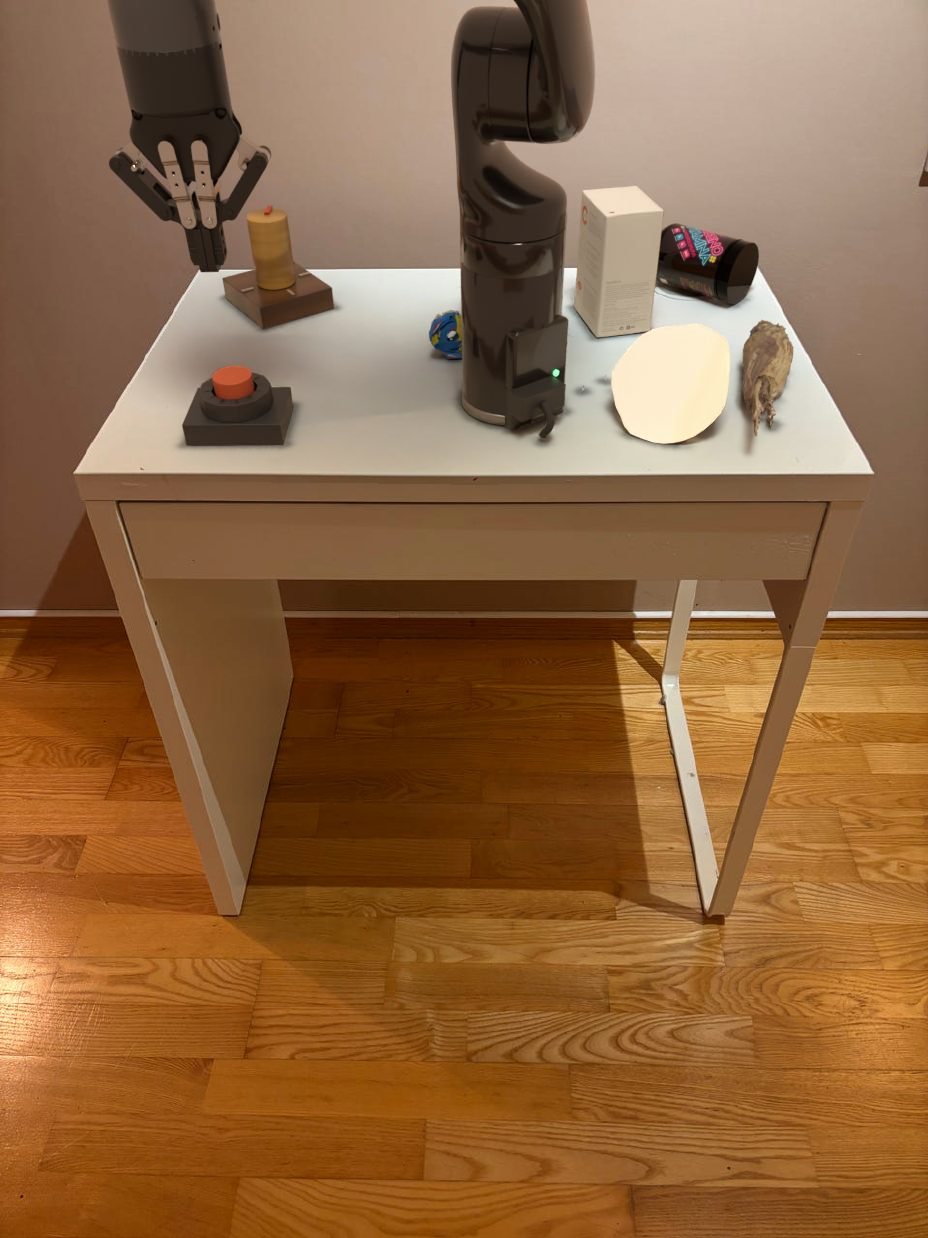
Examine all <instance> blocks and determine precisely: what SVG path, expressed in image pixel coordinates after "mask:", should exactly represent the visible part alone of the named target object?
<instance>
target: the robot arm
mask: <svg viewBox="0 0 928 1238" xmlns="http://www.w3.org/2000/svg"><path fill="white" fill-rule="evenodd" d="M513 2H514V3H515V5H516V6H497V5H496V6H495V5H494V6H492V5H491V6H490V5H486V6H485V5H484V6H481V5H480V6H473V7H471V8H470V9H468V10H467V11H465V12H464V13H463V15H462V16H461V18H460V19H459V21H458V23H457V27H456V30H455V33H454V36H453V42H452V48H451V60H450V88H451V90H450V91H451V105H452V107H451V108H452V119H453V133H454V146H455V148H454V149H455V163H456V165H455V166H456V167H455V168H456V189H457V191H456V192H457V199H458V207H459V248H460V250H459V253H460V255H459V259H460V261H459V262H460V263H459V264H460V268H459V269H460V309H461V310H460V312H461V313H460V315H461V328H462V352H461V355H462V358H461V368H462V371H461V372H462V375H461V376H462V388H461V405H462V407H463V409H464V410H465V411H466V412H467V413H468V414H469V415H470V416H472V417H473V418H475V419H477V420H480V421H482V422H484V423H489V424H493V425H499V426H505V427H507V428H508V429H510V430H513V431H514V430H517V429H520V428H523V427H525V426H528V425H530V424H531V425H532V424H533V423H535V422H539V421H541V420H543V419H545V421H546V422H545V425H544V427H543V428H542V429H541V430H540V431H539V432H538V436H539V437H540V439H543V440H545V439H546V438H547V437H548V436H549V435H550V434H551V432H553V430H554V426H555V416H554V415H556V414H559V413H562V412H563V411H564V407H565V401H566V400H565V399H566V368H567V367H566V366H567V349H568V333H569V320H568V318H567V317H566V316H564V315H563V297H564V280H565V279H564V278H565V261H566V243H567V228H568V227H567V225H568V212H569V199H568V195H567V192H566V190H565V189H564V187H563V186H562V185H561V184H560V183H559V182H558V181H556V180H555V179H553V178H552V177H550V176H548V175H546V174H544V173H542V172H540V171H539V170H536V169H534V168H532V167H531V166H529V165H528V164H526V163H525V162H524V161H522V160H521V159H520V158H519V157H517V156H516V155H515V154H514V153H513V151H511V150H510V148H509V147H508V145H507V142H510V143H511V142H512V143H526V144H539V145H541V144H542V145H551V144H552V145H553V144H563V143H566V142H570V141H572V140H574V139H576V138H578V136H579V135H580V134H581V133H582V131H583V130H585V127H586V125H587V122H588V120H589V118H590V115H591V112H592V109H593V103H594V97H595V88H596V58H595V47H594V37H593V31H592V25H591V24H592V23H591V19H590V14H589V7H588V1H587V0H513ZM106 5H107V11H108V15H109V20H110V23H111V24H110V25H111V29H112V33H113V39H114V43H115V46H116V51H117V56H118V60H119V65H120V69H121V74H122V79H123V83H124V88H125V92H126V96H127V101H128V105H129V111H130V113H131V123H130V127H129V130H128V134H129V138H130V140H129V141H128V142H127V143H126V144H125V145H124V147H119V148H118V149H117V150H116V152H115V153H113V155H112V156H111V157H110V159H109V160H108V167H109V169H110V170H111V171H112V172H113V173H114V174H115V176H117V177H118V178H119V179H120V181H122V182H123V183H124V184H125V185H126V186H127V187H128V188H129V189H130V190H131V191H132V192H133V193H134V195H136V196H137V197H138V198H139V199H140V200H141V201H142V202H143V203H144V204H145V205H146V206H147V208H149V209H150V211H152V212H153V213H154V214H155V216H157V217H158V218H159V219H160V220H161V221H163V222H169V221H171V222H173V223H177V224H179V225H180V226H181V227H182V228H183V230H184V233H185V240H186V243H187V247H188V248H187V249H188V254H189V257H190V261H191V262H192V264H193V266H198V268H199V272H200V273H219V272H220V270H221V268H222V266H223V265H224V264H225V262H226V260H227V257H228V248H227V243H226V235H225V230H224V225H223V223H224V222H227V221H234V220H236V219H237V218H238V216H239V215H240V212H241V211H242V209H243V207H244V206H245V204H246V202H247V201H248V200H249V197H250V196H251V194H252V192H253V191H254V189H255V188H256V187H257V186H256V185H257V184H258V183H259V181H260V179H261V177H262V175H263V174H264V172H265V170H266V169H267V167H268V164H269V163H270V160H271V159H272V151H271V149H270V148H269V147H268V146H267V145H257V144H256V143H255V142H253V141H252V140H251V139H249V138H248V137H246V136H245V135H244V134H243V128H242V125H241V122H240V121H239V120H238V117H236V114H235V113H234V110H233V107H232V101H231V94H230V88H229V87H230V86H229V81H228V80H229V79H228V74H227V69H226V62H225V55H224V50H223V44H222V36H221V29H222V27H221V21H220V15H219V13H218V11H217V5H216V0H106ZM235 151H237V152H238V160H237V166H238V168H239V169H240V171H242V174H241V175H240V176H239V179H238V180H237V183H236V185H235V186H234V188H233V189H232V191H231V193H230V194H229V197H227V198H224V199H222V195H221V186H222V183H221V182H222V180H221V178H222V176H223V174H224V172H225V171H226V169H227V167H228V165H229V163H230V162H231V159H232V157H233V155H234V153H235ZM147 161H148V162H149V163H150V164H151V165H152V167H153V168H154V169H155V170H156V171H157V172H158V173H159V174H160V175H161V176H162V177H163V178H164V179H166V180H167V183H168V187H169V190H168V188H166V186H165V185H164V184H163V183H162V182H161V181H160V180H159V179H158V178H157V177H156V176H155V175H154V174H153V173H152V172H151V171H150V170H149V169H148V168H147Z"/></svg>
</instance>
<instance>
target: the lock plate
mask: <svg viewBox="0 0 928 1238" xmlns="http://www.w3.org/2000/svg"><path fill="white" fill-rule="evenodd" d="M293 263H294V271H295V279H296V281H295V283H294V284H293V285H292V286H290V287H287V288H284V289H279V290H268V289H263V288H261V287H259V286H258V285H257V281H256V275H255V268H254V269H251V270H248V271H243V272H240V273H236V274H232V275H228V276H225V277H222V278H221V280H222V285H223V290H224V291H223V292H224V295H225V299H227V301H228V302H230V303H231V304H232V305H233V306H235V307H236V308H237V309H238V310H239V311H241V312H242V313H243V314H245V316H247V317H248V318H249V319H250V320H252V321H253V322H254V323H255V324H256V325H258V326H259V327H260V328H262V330H264V329H268V328H271V327H275V326H278V325H282V324H286V323H289V322H293V321H296V320H299V319H302V318H306V317H309V316H313V315H316V314H319V313H323V312H326V311H329V310H333V309H335V301H334V293H333V287H332V286H331V285H329V284H328V283H326V282H324V281H323V280H322V279H320V278H319V277H317V276H316V275H314V274H313V273H311V271H309V270H307V269H306V268H305V267H303V266H301V265H300V264H299V263H297V262H295V261H294V260H293Z"/></svg>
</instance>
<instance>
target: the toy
mask: <svg viewBox="0 0 928 1238" xmlns="http://www.w3.org/2000/svg"><path fill="white" fill-rule="evenodd" d="M430 323H431V324H430V328H429V331H428V339H429V342H430V345H431V346H432V347H433V348H434V350H435V351H440V352H441V353H442V354H444V356H445V358H446V359H447V360H452V359H462V354H460V353H462V328H461V313H460V312H459V310H455V309H450V310H447V311H444V312H442V313H441V314H439V313H437V314H436V315H435V316H434V318H433V320H431V322H430ZM451 332H453V333H454V334H453V335H452V336H451V337H449V336H448V335H449V334H450V333H451ZM459 352H460V353H459Z"/></svg>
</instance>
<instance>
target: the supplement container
mask: <svg viewBox="0 0 928 1238" xmlns="http://www.w3.org/2000/svg"><path fill="white" fill-rule="evenodd" d="M759 258H760V251H759V247H758V245H757V243H755V242H753V241H749V240H745V239H742V238H737V237H733V236H729V235H724V234H720V233H717V232H713V231H710V230H706V229H701V228H698V227H694V226H690V225H686V224H683V223H678V222H675V223H671V224H668V225H667V226H665V227H664V228H662V233H661V241H660V250H659V258H658V267H657V275H656V282H659V283H662V284H665V285H669V286H673V287H675V288H678V289H682V290H685V291H689V292H692V293H696V294H699V295H701V296H706V297H709V298H712V299H716V300H718V301H721V302H725V303H727V304H731V305H736V304H738V303H740V302H741V301H742V300H743V299H744V297H745V296H746V295H747V293H748V292H749V291H750V289H751V286H752V284H753V282H754V280H755V276H756V274H757V270H758V265H759Z"/></svg>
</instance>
